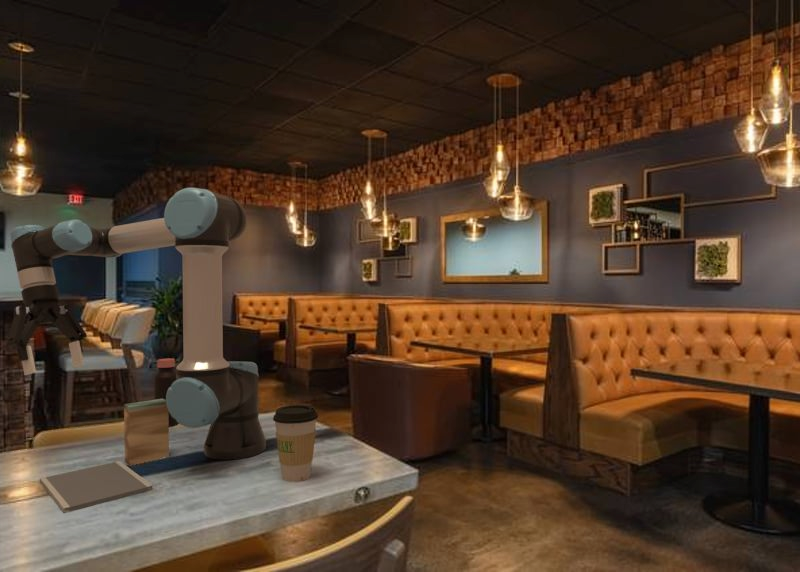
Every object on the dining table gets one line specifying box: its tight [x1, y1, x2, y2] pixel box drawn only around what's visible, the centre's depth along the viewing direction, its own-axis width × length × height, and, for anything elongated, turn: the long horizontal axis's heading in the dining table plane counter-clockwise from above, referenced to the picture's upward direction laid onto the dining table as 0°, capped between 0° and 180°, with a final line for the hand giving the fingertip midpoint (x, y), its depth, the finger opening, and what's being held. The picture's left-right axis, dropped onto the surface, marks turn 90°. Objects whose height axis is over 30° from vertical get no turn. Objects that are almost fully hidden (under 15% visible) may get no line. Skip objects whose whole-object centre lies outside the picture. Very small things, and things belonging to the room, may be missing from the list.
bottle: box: [153, 357, 179, 428], centre depth 163 cm, size 7×7×20 cm
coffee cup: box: [272, 404, 319, 483], centre depth 118 cm, size 10×10×15 cm
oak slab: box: [123, 399, 170, 467], centre depth 131 cm, size 4×9×14 cm, turn 134°
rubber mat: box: [39, 460, 153, 514], centre depth 114 cm, size 22×16×1 cm
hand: (55, 370), depth 132 cm, fingers open, 13 cm apart
